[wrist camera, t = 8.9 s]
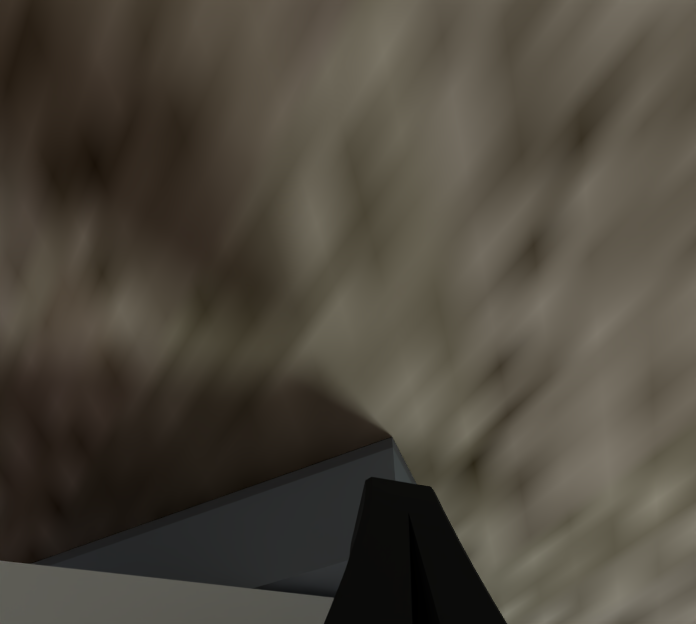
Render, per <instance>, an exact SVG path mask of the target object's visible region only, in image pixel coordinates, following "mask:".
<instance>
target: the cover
mask: <svg viewBox="0 0 696 624" xmlns="http://www.w3.org/2000/svg"><path fill="white" fill-rule="evenodd" d="M333 600H334V598H332V597H323V596H314V595H305V594H296V593H287V592H278V591H269V590H260V589H251V588H242V587H233V586H224V585H215V584H206V583H197V582H188V581H179V580H170V579H161V578H152V577H143V576H134V575H125V574H116V573H107V572H98V571H89V570H80V569H71V568H62V567H53V566H44V565H35V564H26V563H17V562H8V561H0V624H324V622H325V619H326V617H327V615H328V612H329V610H330V607H331V605H332V602H333Z"/></svg>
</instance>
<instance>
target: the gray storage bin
mask: <svg viewBox="0 0 696 624" xmlns="http://www.w3.org/2000/svg"><path fill="white" fill-rule="evenodd" d="M370 477H377V478H383V479H389V480H394V481H400V482H406V483H412V484H416V482H415V480H414V478H413V476H412V474H411V472H410V470H409V469H408V467H407V465H406V463H405V461H404V459H403V457H402V455H401V453H400V451H399V449H398V447H397V445H396V443H395V441H394V440H393V438H392V437H391V438H388V439H385V440H383V441H380V442H377V443H374V444H371V445H368V446H365V447H363V448H360V449H357V450H354V451H351V452H348V453H345V454H343V455H340V456H337V457H334V458H331V459H328V460H325V461H323V462H320V463H317V464H314V465H311V466H308V467H305V468H303V469H300V470H297V471H294V472H291V473H288V474H286V475H283V476H280V477H277V478H274V479H271V480H268V481H266V482H263V483H260V484H257V485H254V486H251V487H248V488H246V489H243V490H240V491H237V492H234V493H231V494H228V495H226V496H223V497H220V498H217V499H214V500H211V501H209V502H206V503H203V504H200V505H197V506H194V507H191V508H189V509H186V510H183V511H180V512H177V513H174V514H171V515H169V516H166V517H163V518H160V519H157V520H154V521H151V522H149V523H146V524H143V525H140V526H137V527H134V528H131V529H129V530H126V531H123V532H120V533H117V534H114V535H112V536H109V537H106V538H103V539H100V540H97V541H94V542H92V543H89V544H86V545H83V546H80V547H77V548H74V549H72V550H69V551H66V552H63V553H60V554H57V555H54V556H52V557H49V558H46V559H43V560H40V561H37V562H35V563H32V564H35V565H44V566H53V567H62V568H71V569H80V570H89V571H98V572H107V573H116V574H125V575H134V576H143V577H152V578H161V579H170V580H179V581H188V582H197V583H206V584H215V585H224V586H233V587H242V588H251V589H260V590H269V591H278V592H287V593H296V594H305V595H314V596H323V597H332V598H334V597H335V595H336V592H337V590H338V587H339V585H340V582H341V580H342V577H343V574H344V572H345V569H346V566H347V563H348V560H349V555H350V546H351V541H352V536H353V532H354V528H355V523H356V519H357V514H358V510H359V506H360V501H361V497H362V492H363V488H364V484H365V480H366V479H368V478H370Z"/></svg>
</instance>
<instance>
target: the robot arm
mask: <svg viewBox="0 0 696 624" xmlns="http://www.w3.org/2000/svg"><path fill="white" fill-rule="evenodd" d="M324 624H507V623H506V621H505V619H504V618H503V616H502V615H501V613H500V611H499V610H498V608H497V606H496V605H495V603H494V601H493V599H492V598H491V596H490V594H489V593H488V591H487V589H486V587H485V586H484V584H483V582H482V580H481V579H480V577H479V575H478V573H477V572H476V570H475V568H474V567H473V565H472V563H471V561H470V559H469V557H468V556H467V554H466V552H465V550H464V548H463V546H462V544H461V543H460V541H459V539H458V537H457V535H456V533H455V531H454V529H453V527H452V525H451V524H450V522H449V520H448V518H447V516H446V514H445V512H444V510H443V508H442V506H441V504H440V502H439V500H438V498H437V496H436V494H435V492H434V490H433V489H432V487H430V486H424V485H418V484H412V483H406V482H400V481H394V480H389V479H383V478H377V477H370V478H368V479H366V480H365V484H364V488H363V492H362V497H361V501H360V506H359V510H358V514H357V519H356V523H355V528H354V532H353V536H352V541H351V546H350V555H349V560H348V563H347V566H346V569H345V572H344V574H343V577H342V580H341V582H340V585H339V587H338V590H337V592H336V595H335V597H334V600H333V602H332V605H331V607H330V610H329V612H328V615H327V617H326V619H325V622H324Z"/></svg>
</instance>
